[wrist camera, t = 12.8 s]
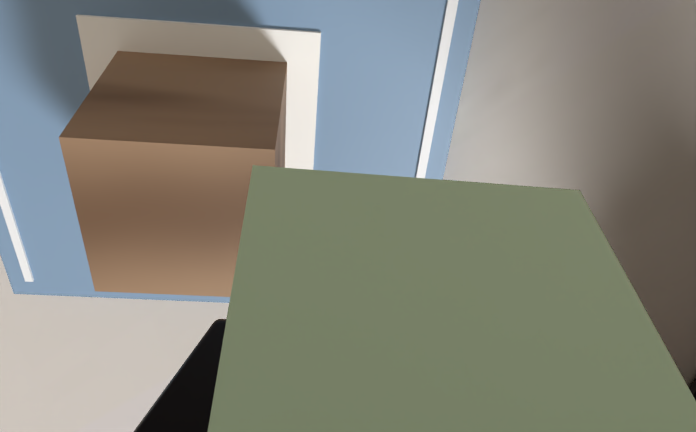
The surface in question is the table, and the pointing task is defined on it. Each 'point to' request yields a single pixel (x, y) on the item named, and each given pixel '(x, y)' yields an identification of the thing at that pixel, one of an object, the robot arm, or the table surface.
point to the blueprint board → (221, 42)
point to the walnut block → (171, 167)
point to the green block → (434, 313)
